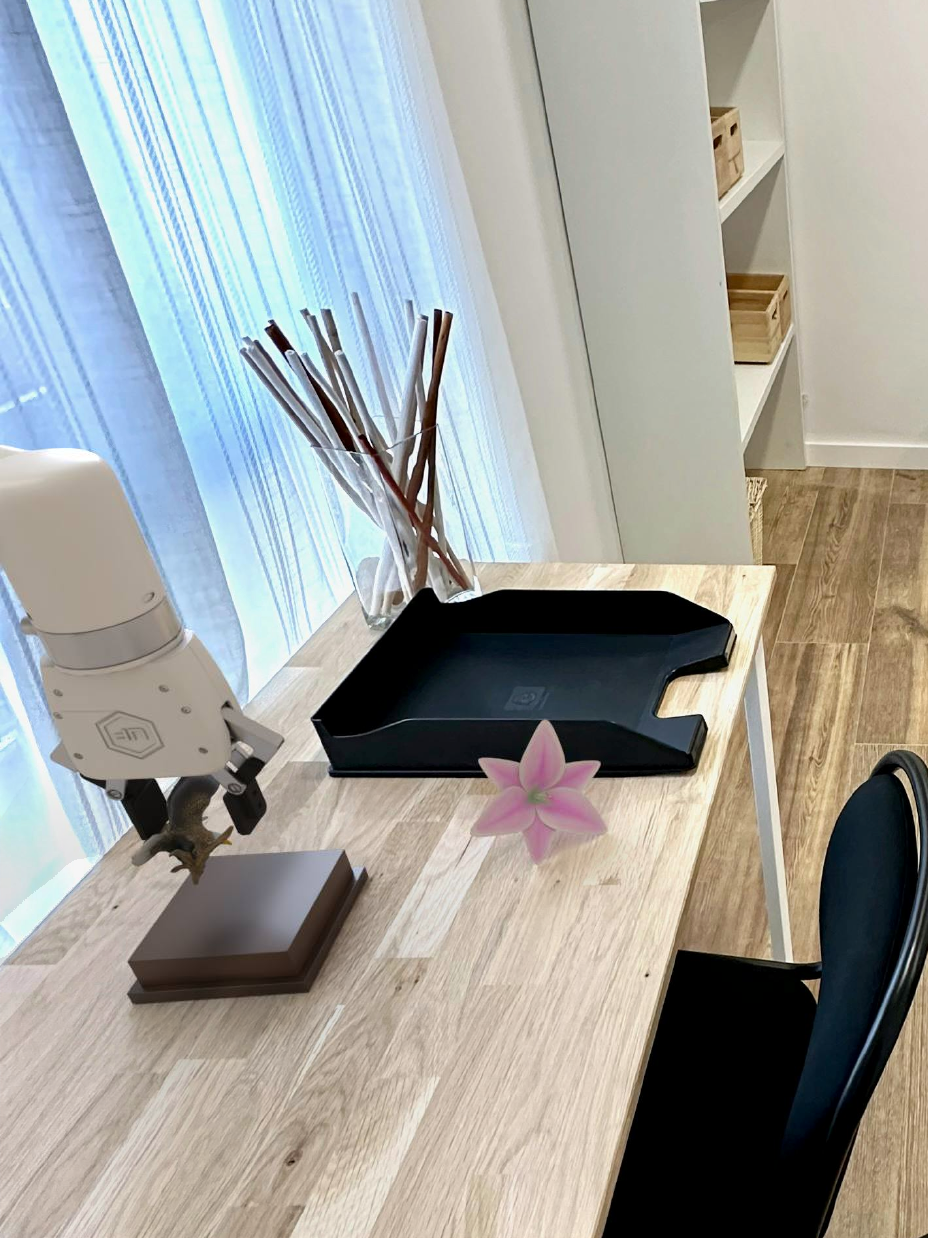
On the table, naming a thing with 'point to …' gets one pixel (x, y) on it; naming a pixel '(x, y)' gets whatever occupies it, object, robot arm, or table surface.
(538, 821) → the lily
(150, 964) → the display stand
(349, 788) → the table surface
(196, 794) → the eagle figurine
